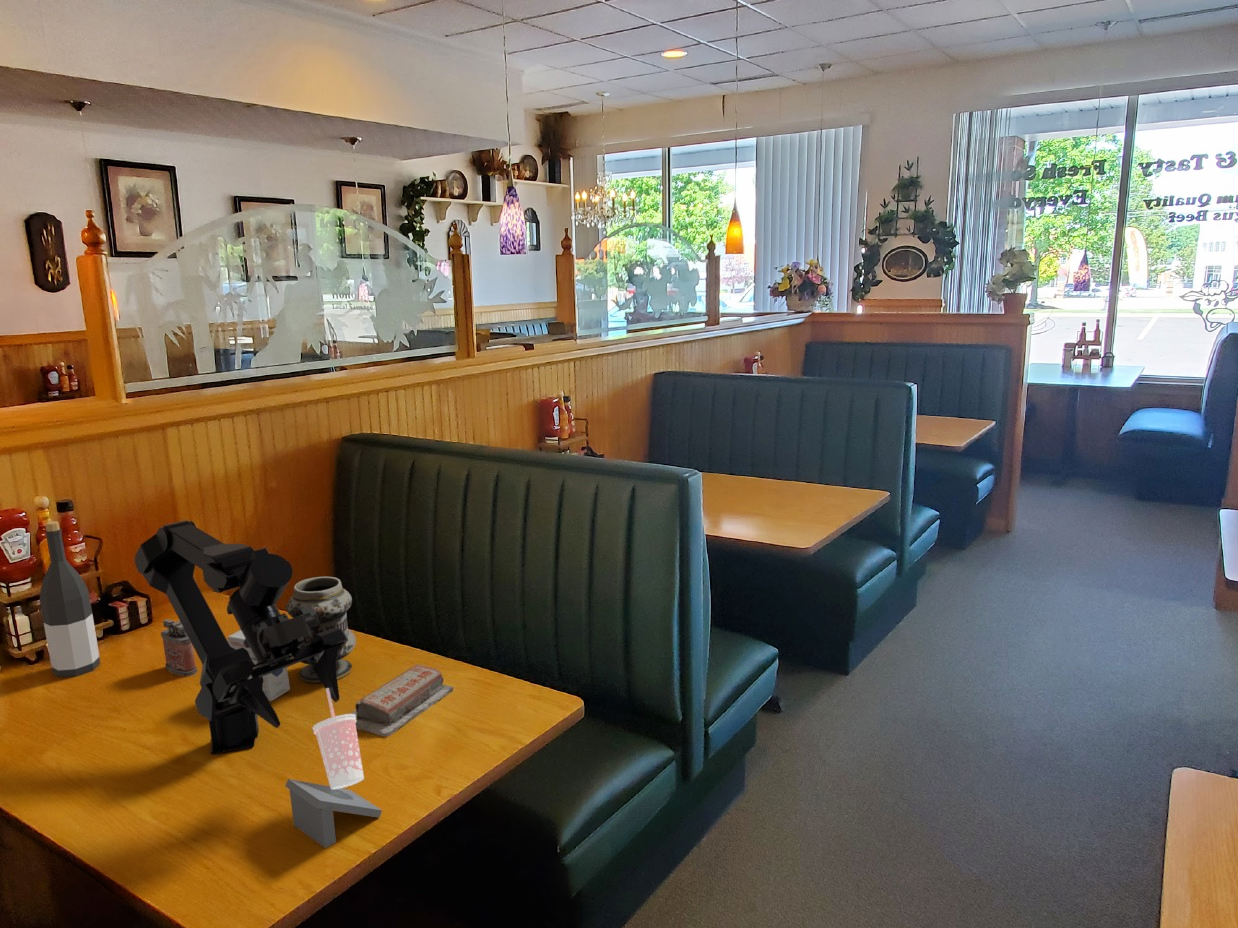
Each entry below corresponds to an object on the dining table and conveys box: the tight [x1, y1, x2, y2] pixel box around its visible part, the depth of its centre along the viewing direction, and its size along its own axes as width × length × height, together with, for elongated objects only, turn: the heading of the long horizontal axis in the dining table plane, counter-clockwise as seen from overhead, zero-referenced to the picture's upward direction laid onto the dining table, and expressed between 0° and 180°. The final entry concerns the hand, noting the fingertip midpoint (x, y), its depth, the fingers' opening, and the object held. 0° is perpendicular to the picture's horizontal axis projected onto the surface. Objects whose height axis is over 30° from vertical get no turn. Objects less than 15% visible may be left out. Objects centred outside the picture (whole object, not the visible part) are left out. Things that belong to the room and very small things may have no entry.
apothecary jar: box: [285, 576, 357, 684], centre depth 165 cm, size 12×12×18 cm
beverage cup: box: [312, 688, 365, 790], centre depth 124 cm, size 6×6×14 cm
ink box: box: [227, 629, 291, 702], centre depth 157 cm, size 9×5×12 cm, turn 68°
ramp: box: [284, 778, 383, 849], centre depth 120 cm, size 10×8×7 cm
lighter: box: [160, 618, 198, 677], centre depth 168 cm, size 8×3×10 cm, turn 58°
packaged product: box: [349, 664, 455, 738], centre depth 152 cm, size 18×5×10 cm
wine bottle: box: [39, 521, 101, 678], centre depth 167 cm, size 8×8×30 cm
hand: (308, 713), depth 123 cm, fingers open, 9 cm apart
